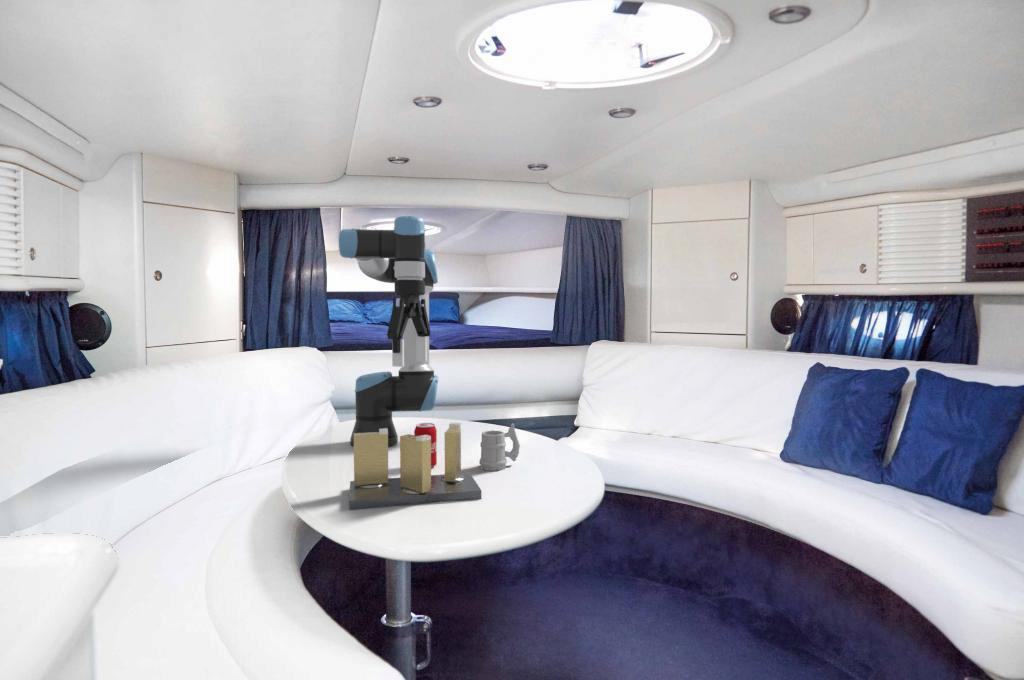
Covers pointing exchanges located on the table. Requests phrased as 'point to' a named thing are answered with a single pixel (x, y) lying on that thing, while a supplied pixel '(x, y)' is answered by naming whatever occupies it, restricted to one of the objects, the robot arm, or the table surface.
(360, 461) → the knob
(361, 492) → the plate
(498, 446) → the mug
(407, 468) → the tan grey-ended block
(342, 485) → the table surface
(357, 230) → the robot arm
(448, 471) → the tan upright panel
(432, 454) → the beverage can
